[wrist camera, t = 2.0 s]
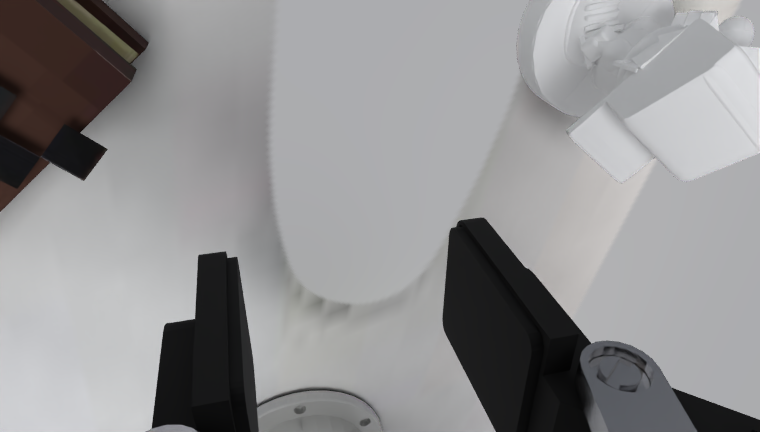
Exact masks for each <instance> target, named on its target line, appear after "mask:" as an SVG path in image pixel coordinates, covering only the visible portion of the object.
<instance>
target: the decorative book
mask: <svg viewBox="0 0 760 432" xmlns="http://www.w3.org/2000/svg"><path fill="white" fill-rule="evenodd" d="M147 45H148V42H147V41H146V40H145V39H144V38H143V37H142V36H141V35H139V34H138V33H137V32H136V31H135V30H134V29H133V28H132V27H131V26H129V25H128V24H127V23H126V22H125V21H124V20H123V19H122V18H121V17H120V16H118V15H117V14H116V13H115V12H114V11H113V10H112V9H111V8H110V7H109V6H107V5H106V4H105V3H104V2H103V1H102V0H0V212H1V211H2V210H3V209H4V208H5V207H6V206H7V205H8V204H9V203H10V202H11V201H12V200H13V199H14V198H15V197H16V196H17V195H18V194H19V193H20V192H21V191H22V190H23V189H24V188H25V187H26V186H27V185H28V184H29V183H30V182H31V181H32V180H33V179H34V178H35V177H36V176H37V175H38V174H39V173H40V172H41V171H42V170H43V169H44V168H45V167H46V166H47V165H48V164H49V163H52V164H54V165H56V166H58V167H59V168H61V169H63V170H65V171H67V172H69V173H70V174H72V175H74V176H76V177H78V178H80V179H81V180H83V181H84V180H85V179H86V177H87V176H88V175H89V173H90V172H91V171H92V169H93V168H94V167H95V165H96V164H97V163H98V161H99V160H100V159H101V157H102V156H103V155H104V153H105V152H106V151H107V149H106V148H105V147H103V146H101V145H100V144H98V143H96V142H95V141H93V140H91V139H89V138H88V137H86V136H84V135H83V134H81V133H80V132H81V131H82V130H83V129H84V128H85V127H86V126H87V125H88V124H89V123H90V122H91V121H92V120H93V119H94V118H95V117H96V116H97V115H98V114H99V113H100V112H101V111H102V110H103V109H104V108H105V107H106V106H107V105H108V104H109V103H110V102H111V101H112V100H113V99H114V98H115V97H116V96H117V95H118V94H119V93H120V92H121V91H122V90H123V89H124V88H125V87H126V86H127V85H128V84H129V83H130V82H131V81H132V79H133V77H134V74H135V72H136V70H137V69H136V68H135V67H133V66H132V65H131V63H132V62H133V61H134V60H135V59H136V58H137V57H138V56H139V55H140V54H141V53H142V52H143V51H144V50H145V49H146V47H147Z"/></svg>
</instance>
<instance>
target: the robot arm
mask: <svg viewBox="0 0 760 432" xmlns="http://www.w3.org/2000/svg"><path fill="white" fill-rule="evenodd" d="M443 327H444V331H445V333H446V336H447V338H448V340H449V341H450V343H451V345H452V347H453V349H454V351H455V353H456V355H457V357H458V359H459V361H460V363H461V365H462V367H463V369H464V371H465V373H466V374H467V376H468V378H469V380H470V382H471V384H472V386H473V388H474V390H475V392H476V394H477V396H478V398H479V400H480V402H481V404H482V406H483V407H484V409H485V411H486V413H487V415H488V417H489V419H490V421H491V423H492V425H493V427H494V429H495V431H496V432H760V420H758V419H756V418H753V417H750V416H747V415H745V414H742V413H739V412H737V411H734V410H731V409H728V408H725V407H723V406H720V405H717V404H715V403H712V402H709V401H706V400H704V399H701V398H698V397H696V396H693V395H690V394H687V393H685V392H682V391H679V390H676V389H674V388H671V386H670V385H669V383H668V381H667V380H666V378H665V376H664V375H663V373H662V371H661V369H660V368H659V366H658V365H657V364H656V363H655V362H654V360H653V359H652V358H650V357H649V356H648V355H646V354H645V353H644V352H643V351H641V350H639V349H637V348H635V347H633V346H631V345H628V344H624V343H621V342H615V341H599V342H595V343H592V344H591V342H590V341H589V340H588V339H587V338H586V336H585V335H584V334H583V333H582V331H581V330H580V329H579V328H578V327H577V326H576V324H575V323H574V322H573V321H572V319H571V318H570V317H569V316H568V315H567V313H566V312H565V311H564V310H563V308H562V307H561V306H560V305H559V304H558V302H557V301H556V300H555V299H554V298H553V296H552V295H551V294H550V293H549V291H548V290H547V289H546V288H545V287H544V285H543V284H542V283H541V282H540V281H539V279H538V278H537V277H536V276H535V275H534V273H533V272H532V271H530V270H529V269H527V268H525V267H524V266H523V264H522V263H521V262H520V261H519V260H518V258H517V257H516V256H515V255H514V253H513V252H512V251H511V250H510V249H509V247H508V246H507V245H506V244H505V242H504V241H503V240H502V239H501V237H500V236H499V235H498V234H497V233H496V231H495V230H494V229H493V228H492V226H491V225H490V224H489V223H488V222H487V220H486V219H484V218H475V219H468V220H460V221H459V222H458V223H457V227H455V228H451V230H450V234H449V245H448V258H447V270H446V282H445V295H444V307H443ZM146 432H383V430H382V427H381V424H380V421H379V418H378V417H377V415H376V413H375V412H374V410H373V409H372V408H371V407H370V406H368V405H367V404H366V403H365V402H363V401H362V400H360V399H358V398H356V397H354V396H351V395H348V394H344V393H341V392H334V391H326V390H323V391H305V392H299V393H293V394H289V395H286V396H283V397H279V398H276V399H274V400H272V401H270V402H267V403H265V404H263V405H261V406H259V407H258V408H257V402H256V390H255V377H254V365H253V356H252V349H251V343H250V336H249V330H248V323H247V317H246V310H245V304H244V297H243V291H242V284H241V278H240V271H239V265H238V259H237V257H232V258H227V254H226V251H225V252H218V253H210V254H203V255H199V256H198V272H197V293H196V313H195V319H193V320H186V321H180V322H174V323H167V324H166V325H165V326H164V331H163V339H162V347H161V355H160V364H159V372H158V380H157V389H156V397H155V406H154V414H153V422H152V429H150V430H148V431H146Z"/></svg>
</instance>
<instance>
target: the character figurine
mask: <svg viewBox="0 0 760 432" xmlns="http://www.w3.org/2000/svg"><path fill="white" fill-rule="evenodd" d="M717 15H718V11H704V12H703V11H702V10H691V11H690V12H677V13H676V16H675V12H674V7H673V1H672V0H530V1H529V3H528V5H527V7H526V9H525V11H524V13H523V16H522V19H521V23H520V26H519V29H518V36H517V60H518V64H519V68H520V72H521V74H522V76H523V78H524V80H525V82H526V84H527V86H528V87H529V88H530V89H531V90H532V92H533V93H534V94H535V95H537V96H538V97H539V98H541V99H542V100H543V101H545V102H546V103H548V104H550V105H551V106H553V107H554V108H556V109H557V110H559V111H561V112H563V113H564V114H567V115H571V116H575V117H578V118H579V119H578V120H577V121H576V122H575V123H574V124H572V125H571V126H570V127H569V128H568V129H567V130H566V131H567V133H568V135H569V136H570V138H571V139H572V140H573V141H574V142H575V143H576V144H577V145H578V146H579V147H580V148H581V149H582V150H583V151H584V152H585V153H587V154H588V155H589V156H590V157H591V158H592V159H593V160H594V161H595V162H596V163H597V164H598V165H600V166H601V167H602V168H603V169H604V170H605V171H606V172H607V173H608V174H609V175H610V176H611V177H613V178H614V179H615V180H616V181H617V182H619V183H623V182H625V181H626V180H627V179H629V178H630V177H631V176H633V175H634V174H635V173H636V172H638V171H639V170H640V169H641V168H643V167H644V166H645V165H646V164H647V163H649V162H650V161H651V160H652V159H654V158H655V157H656V159H657V160H658V161H659V162H660V163H661V164H662V165H663V166H664V167H665V168H666V169H667V170H668V171H669V172H670V173H671V174H672V175H673V176H674V177H675V178H677V179H678V180H680V181H684V182H688V181H692V180H695V179H697V178H700V177H702V176H704V175H707V174H709V173H712V172H714V171H717V170H719V169H722V168H724V167H727V166H729V165H732V164H734V163H736V162H739V161H741V160H744V159H746V158H749V157H751V156H754V155H756V154H758V153H760V48H757V47H749V46H750V45H751V43H752V41H753V38H754V26H753V24H752V22H751V21H750V20H749V19H747V18H745V17H743V16H734V17H731V18H728V19H726V20H725V21H723V22H722V23H721V24H720V25H719V26H718V18H717Z"/></svg>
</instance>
